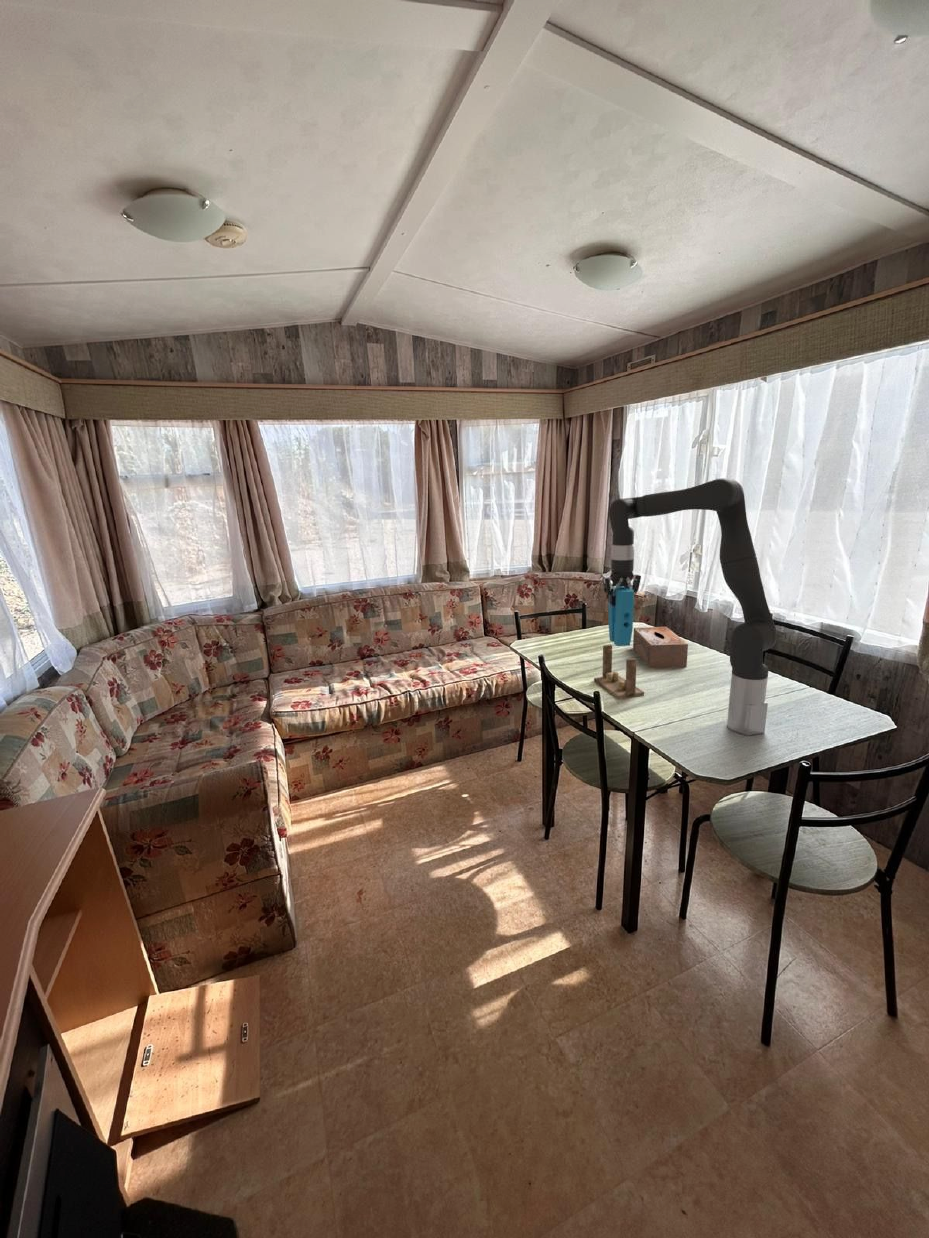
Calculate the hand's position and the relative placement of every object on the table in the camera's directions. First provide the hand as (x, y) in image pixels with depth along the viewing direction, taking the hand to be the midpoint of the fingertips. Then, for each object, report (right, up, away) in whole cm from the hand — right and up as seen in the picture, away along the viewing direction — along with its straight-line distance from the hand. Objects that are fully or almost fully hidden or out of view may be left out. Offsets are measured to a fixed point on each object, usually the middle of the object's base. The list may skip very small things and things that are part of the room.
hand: (620, 604), depth 175 cm
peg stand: (+1, -31, +8) cm, 32 cm away
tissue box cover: (+28, -22, +38) cm, 52 cm away
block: (+1, -14, +4) cm, 14 cm away
